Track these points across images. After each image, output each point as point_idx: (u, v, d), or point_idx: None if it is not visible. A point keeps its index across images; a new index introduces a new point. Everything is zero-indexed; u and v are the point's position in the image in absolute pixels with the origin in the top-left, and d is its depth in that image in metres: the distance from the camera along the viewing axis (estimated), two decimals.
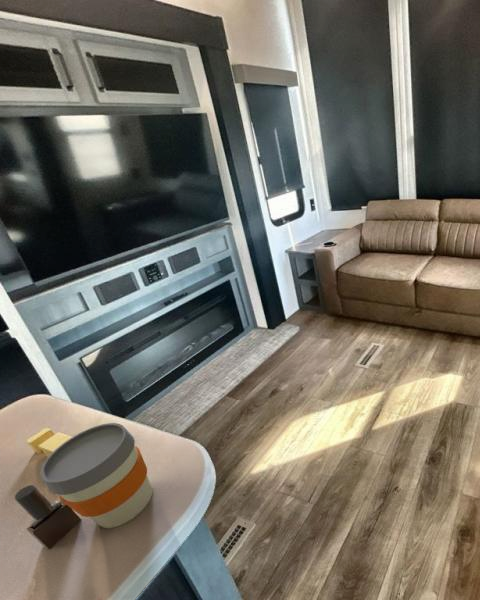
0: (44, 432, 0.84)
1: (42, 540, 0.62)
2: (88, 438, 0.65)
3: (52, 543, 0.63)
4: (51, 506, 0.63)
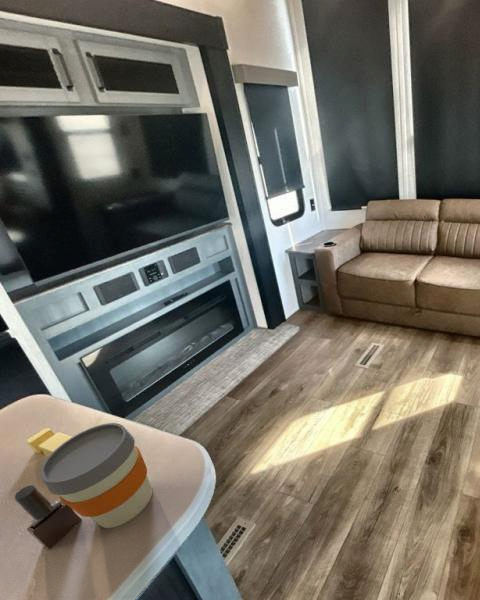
0: (44, 432, 0.84)
1: (42, 540, 0.62)
2: (87, 438, 0.65)
3: (52, 543, 0.63)
4: (51, 506, 0.63)
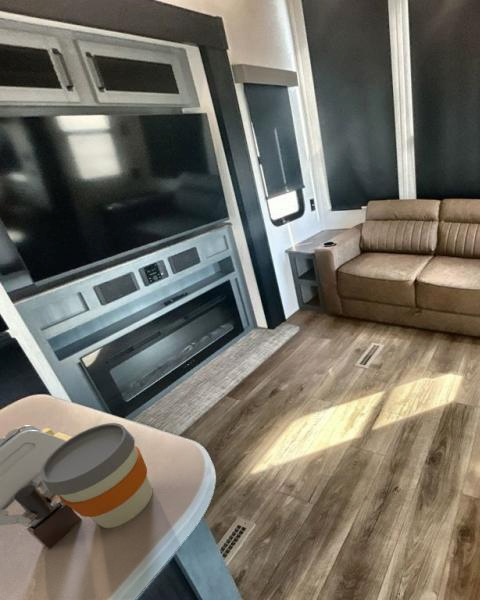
0: (44, 432, 0.84)
1: (42, 540, 0.62)
2: (87, 438, 0.65)
3: (52, 543, 0.63)
4: (51, 506, 0.63)
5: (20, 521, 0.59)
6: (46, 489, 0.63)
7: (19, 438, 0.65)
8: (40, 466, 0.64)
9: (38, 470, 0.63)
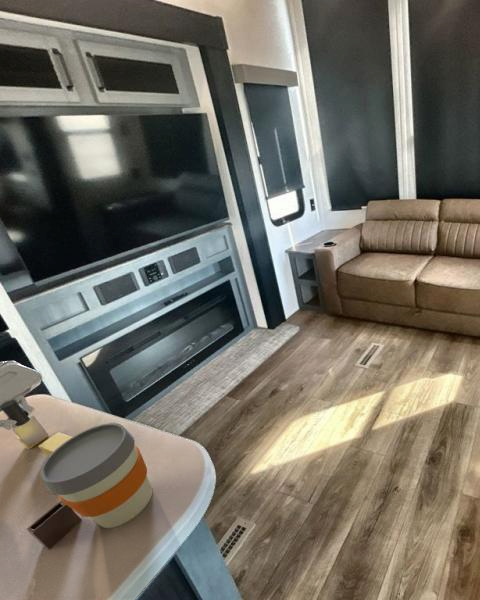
0: None
1: (42, 540, 0.62)
2: (87, 438, 0.65)
3: (52, 543, 0.63)
4: (28, 417, 0.83)
5: (4, 424, 0.80)
6: (24, 405, 0.84)
7: (4, 368, 0.85)
8: (20, 388, 0.84)
9: (18, 391, 0.84)
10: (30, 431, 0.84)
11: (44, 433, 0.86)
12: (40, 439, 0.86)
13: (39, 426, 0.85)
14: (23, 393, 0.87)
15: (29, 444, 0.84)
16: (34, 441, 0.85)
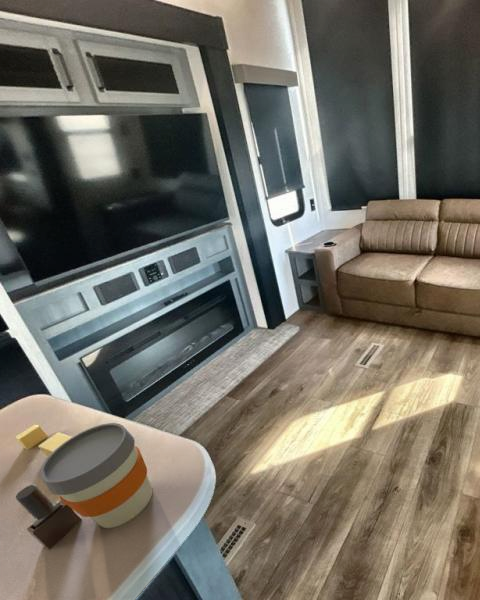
0: (33, 429, 0.85)
1: (42, 540, 0.62)
2: (87, 438, 0.65)
3: (52, 543, 0.63)
4: (52, 506, 0.63)
5: None
6: None
7: None
8: None
9: None
10: None
11: None
12: (39, 439, 0.86)
13: None
14: None
15: None
16: None
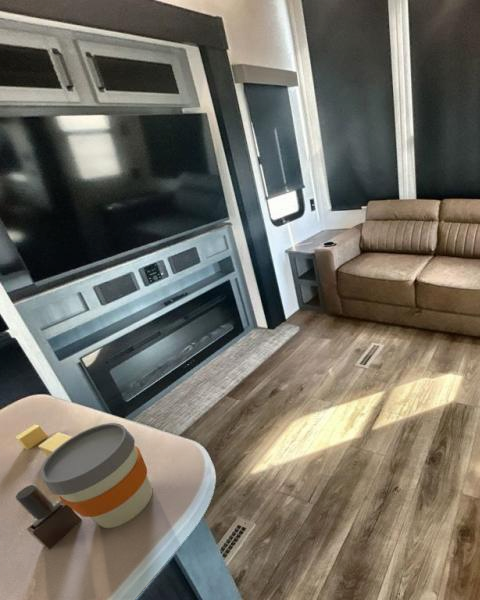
0: (33, 429, 0.85)
1: (42, 540, 0.62)
2: (87, 438, 0.65)
3: (52, 543, 0.63)
4: (52, 506, 0.63)
5: None
6: None
7: None
8: None
9: None
10: None
11: None
12: (39, 439, 0.86)
13: None
14: None
15: None
16: None
